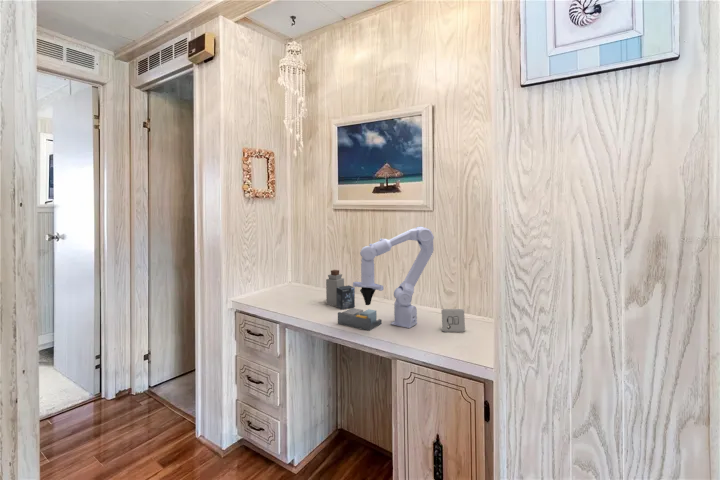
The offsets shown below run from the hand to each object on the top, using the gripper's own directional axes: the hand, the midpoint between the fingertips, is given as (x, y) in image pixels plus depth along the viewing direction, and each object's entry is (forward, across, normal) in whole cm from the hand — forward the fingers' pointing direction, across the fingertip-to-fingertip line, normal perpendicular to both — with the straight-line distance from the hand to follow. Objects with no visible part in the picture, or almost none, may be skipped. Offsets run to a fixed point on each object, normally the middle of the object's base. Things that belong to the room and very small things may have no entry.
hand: (368, 304), depth 162 cm
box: (+10, -24, +16) cm, 31 cm away
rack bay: (+9, -4, -1) cm, 10 cm away
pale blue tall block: (+9, 0, 0) cm, 9 cm away
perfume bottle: (+10, -32, +18) cm, 38 cm away
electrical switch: (+10, +33, +14) cm, 37 cm away
